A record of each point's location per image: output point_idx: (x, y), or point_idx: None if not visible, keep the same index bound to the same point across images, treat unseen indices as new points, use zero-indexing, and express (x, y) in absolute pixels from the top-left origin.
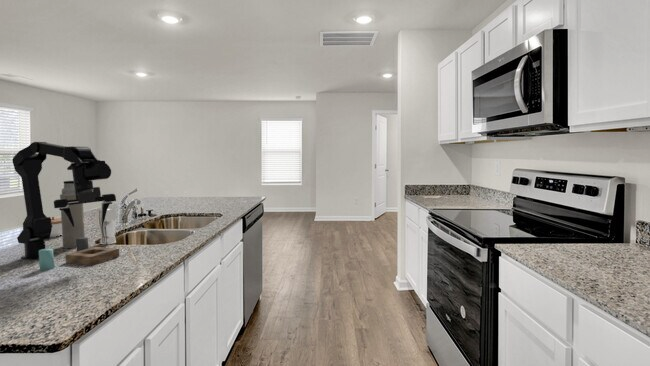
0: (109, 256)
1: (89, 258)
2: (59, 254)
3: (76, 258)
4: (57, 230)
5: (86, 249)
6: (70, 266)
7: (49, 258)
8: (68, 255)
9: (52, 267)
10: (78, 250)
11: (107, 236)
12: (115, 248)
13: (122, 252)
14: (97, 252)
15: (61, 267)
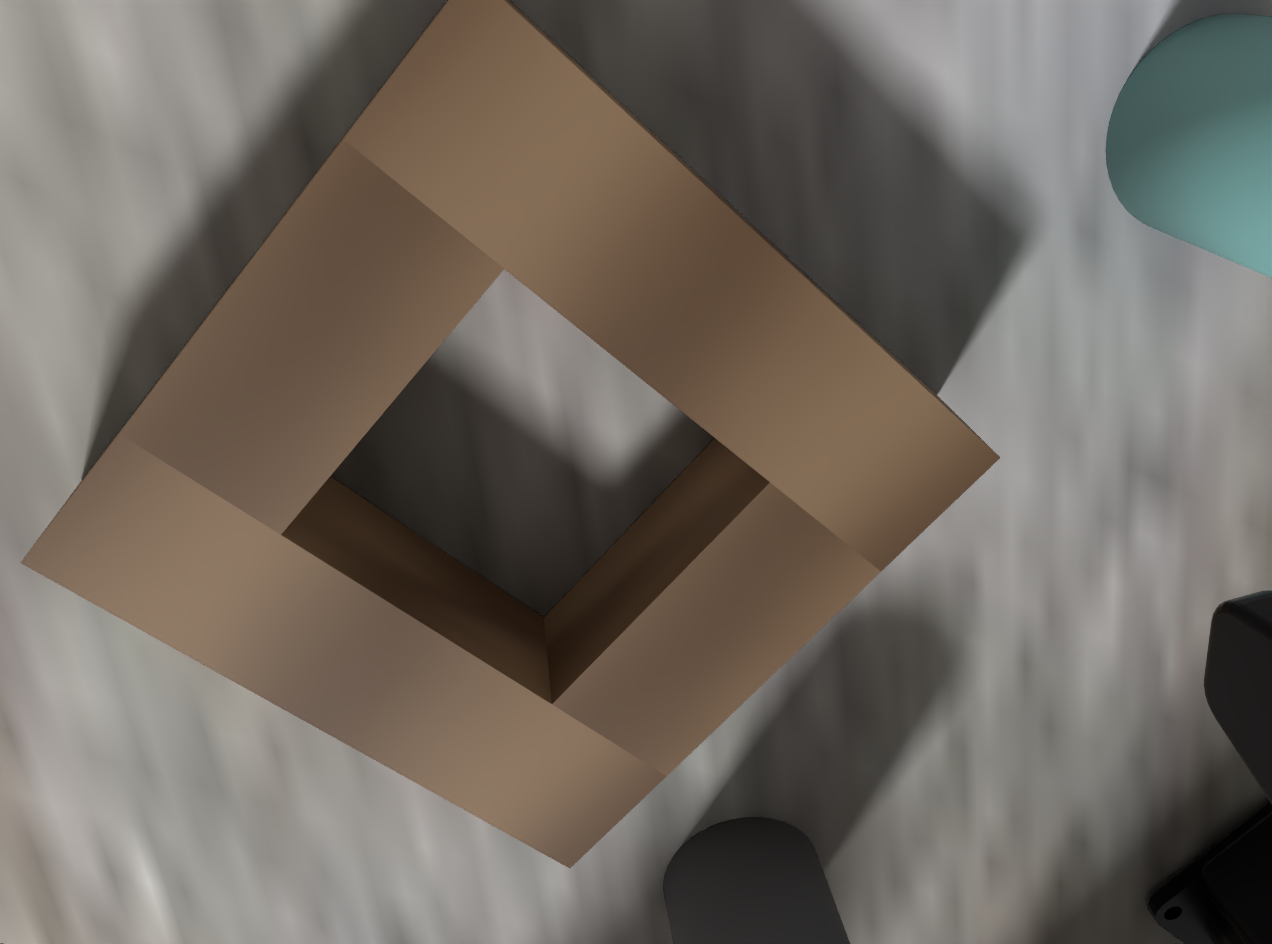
0: (200, 325)
1: (529, 22)
2: (1030, 914)
3: (796, 267)
4: None
5: (678, 719)
6: (859, 87)
7: None
8: (949, 411)
9: (1143, 76)
10: (809, 878)
11: None
12: (113, 609)
13: (110, 749)
14: (480, 624)
15: (999, 86)
